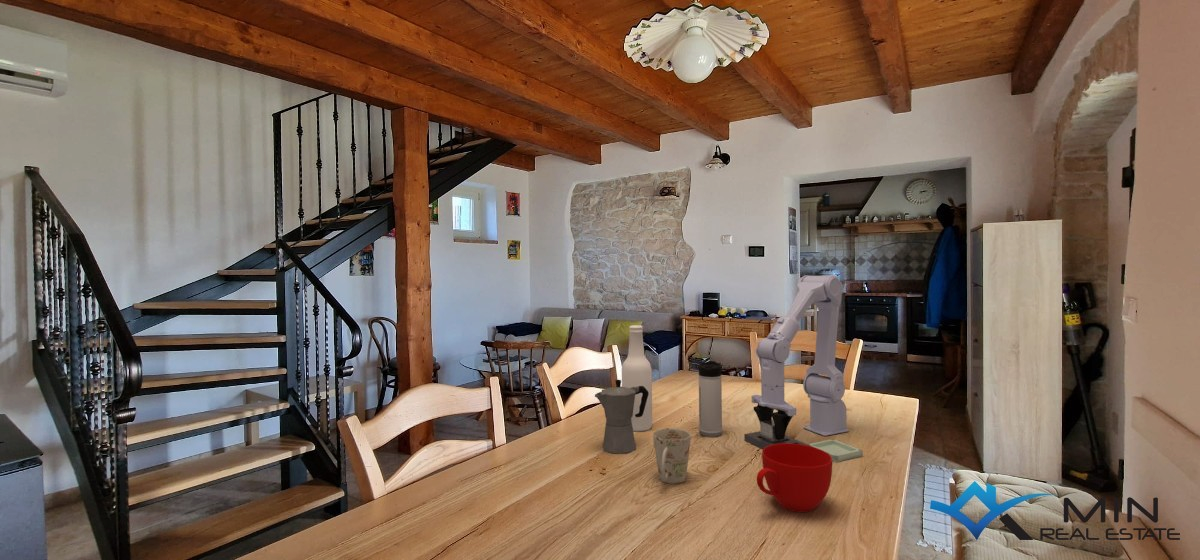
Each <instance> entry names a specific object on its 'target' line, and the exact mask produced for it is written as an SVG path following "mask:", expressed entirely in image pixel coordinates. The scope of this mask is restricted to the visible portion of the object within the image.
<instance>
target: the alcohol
mask: <svg viewBox="0 0 1200 560" xmlns="http://www.w3.org/2000/svg"><path fill="white" fill-rule="evenodd" d="M628 328H629V330H628V332H629V336H628V337H629V338H628V353H627V357H626V359H625V360H624V361H623V363H622V365H621V366H622V367H621V387H626V388H631V387H638V386H644V387H645V388H646V389H647V390H648V393H649V395H648V398H647V402H646V405H645V409H644V412H643V415H642V416H641V417H635V414H638V413H639V406H640V404H641V398H642V395H643V394H642V393H639V394H636V395H635V400H634V408H633V416H632V417H631V422H632V427H633V432H645V431H646V432H647V431H649V430H651V428H652V426H653V384H652V383H653V381H652V380H653V377H652V376H653V375H652V374H653V373H652V369H653V368H652V365H651V363H650V361H649V360H648V358H646V355H645V348H644V347H645V346H644V338H643V337H644V336H643V335H644V334H643V332H644V330H643V328H644V327H643V325H638V324H637V325H636V324H635V325H630V326H629V327H628Z"/></svg>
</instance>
